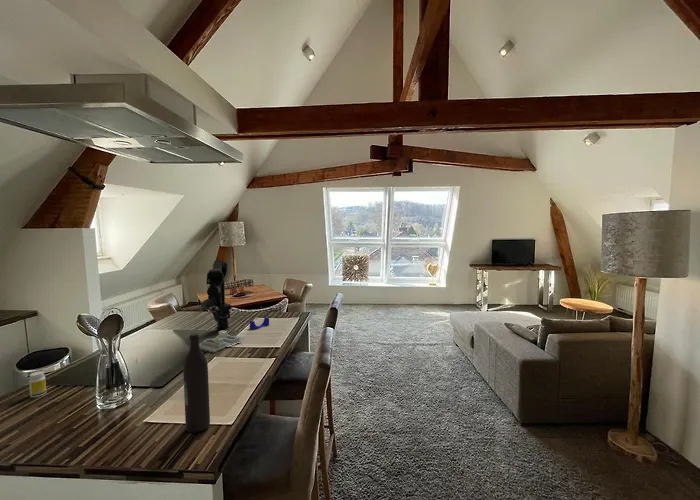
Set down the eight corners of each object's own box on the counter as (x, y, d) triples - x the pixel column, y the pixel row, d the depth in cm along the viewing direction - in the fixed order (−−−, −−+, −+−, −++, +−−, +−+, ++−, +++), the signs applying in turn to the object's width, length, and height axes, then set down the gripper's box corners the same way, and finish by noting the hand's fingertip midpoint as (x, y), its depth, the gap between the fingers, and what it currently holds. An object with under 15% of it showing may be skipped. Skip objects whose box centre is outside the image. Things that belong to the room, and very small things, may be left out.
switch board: (193, 347, 179) (193, 343, 179) (227, 336, 198) (227, 331, 198) (213, 353, 171) (213, 348, 171) (247, 340, 190) (247, 335, 190)
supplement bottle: (49, 392, 132) (48, 371, 131) (35, 398, 127) (34, 376, 126) (40, 391, 133) (39, 370, 132) (26, 396, 128) (24, 375, 128)
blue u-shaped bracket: (253, 332, 205) (253, 322, 205) (249, 330, 208) (249, 321, 208) (270, 327, 214) (270, 318, 214) (266, 326, 217) (266, 317, 217)
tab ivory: (218, 337, 190) (218, 331, 190) (222, 336, 192) (222, 329, 192) (223, 339, 188) (223, 332, 188) (227, 337, 190) (227, 330, 190)
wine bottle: (198, 418, 113) (194, 330, 111) (214, 423, 110) (211, 332, 108) (180, 430, 106) (176, 336, 104) (197, 435, 104) (194, 339, 102)
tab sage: (214, 345, 178) (213, 337, 178) (218, 343, 181) (218, 336, 180) (219, 346, 176) (219, 339, 176) (223, 344, 179) (223, 337, 178)
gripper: (191, 294, 184) (193, 322, 185) (214, 298, 174) (215, 327, 176) (209, 290, 193) (210, 317, 195) (231, 294, 184) (232, 322, 185)
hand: (216, 321), depth 187 cm, fingers closed
